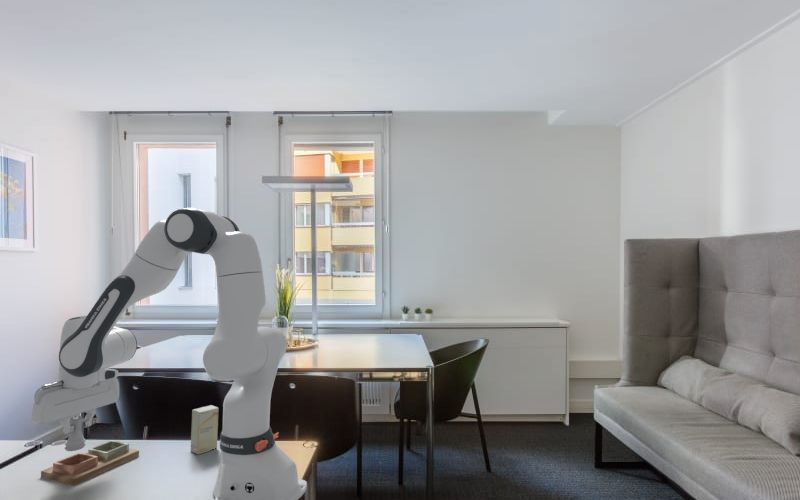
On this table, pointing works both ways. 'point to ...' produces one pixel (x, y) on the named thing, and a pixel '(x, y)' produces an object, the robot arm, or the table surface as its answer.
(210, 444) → the skincare box
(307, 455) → the table surface
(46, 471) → the board
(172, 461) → the table surface
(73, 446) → the rook chess piece
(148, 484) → the table surface
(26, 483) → the table surface
